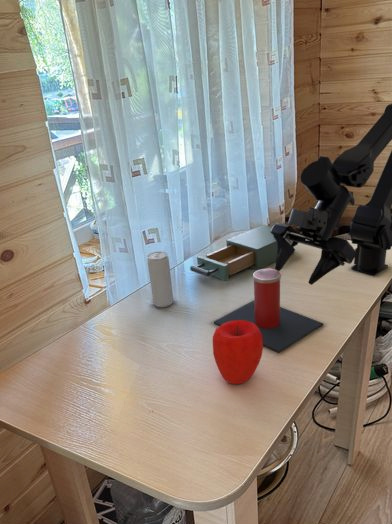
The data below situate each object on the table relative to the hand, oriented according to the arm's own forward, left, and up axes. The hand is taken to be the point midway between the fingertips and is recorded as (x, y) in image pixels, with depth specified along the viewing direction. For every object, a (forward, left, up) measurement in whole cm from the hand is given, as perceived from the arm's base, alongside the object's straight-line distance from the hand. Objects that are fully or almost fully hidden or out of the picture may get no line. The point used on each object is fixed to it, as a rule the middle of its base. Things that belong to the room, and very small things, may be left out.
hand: (292, 277), depth 108 cm
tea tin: (0, +8, -7) cm, 11 cm away
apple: (-9, +26, -8) cm, 28 cm away
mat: (0, +8, -8) cm, 11 cm away
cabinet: (+26, -19, -8) cm, 33 cm away
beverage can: (+25, +16, -8) cm, 31 cm away
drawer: (+26, -5, -7) cm, 28 cm away
